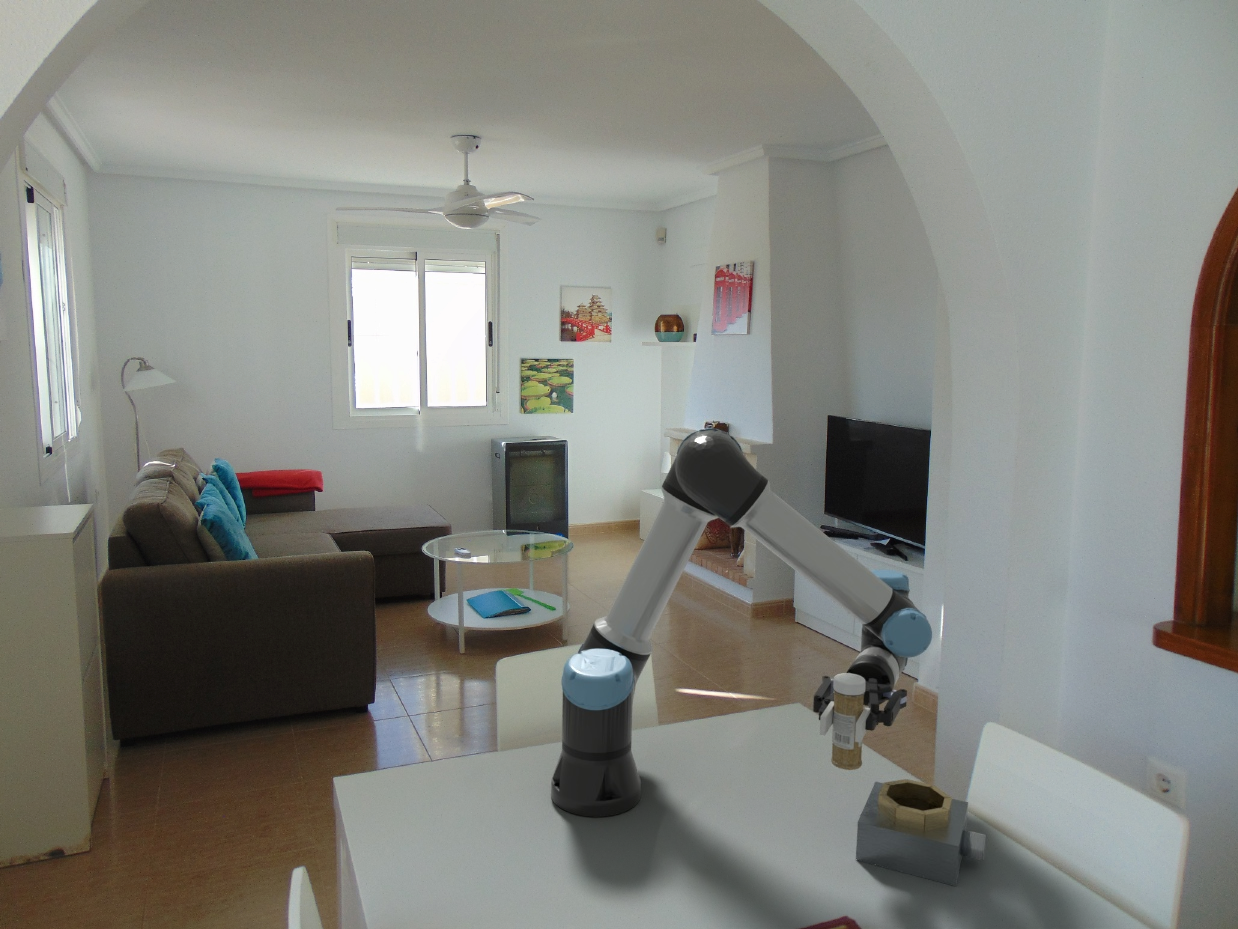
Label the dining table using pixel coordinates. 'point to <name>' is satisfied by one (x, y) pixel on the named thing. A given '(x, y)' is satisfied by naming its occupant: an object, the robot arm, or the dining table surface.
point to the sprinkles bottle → (847, 720)
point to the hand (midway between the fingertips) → (840, 729)
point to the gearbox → (916, 831)
